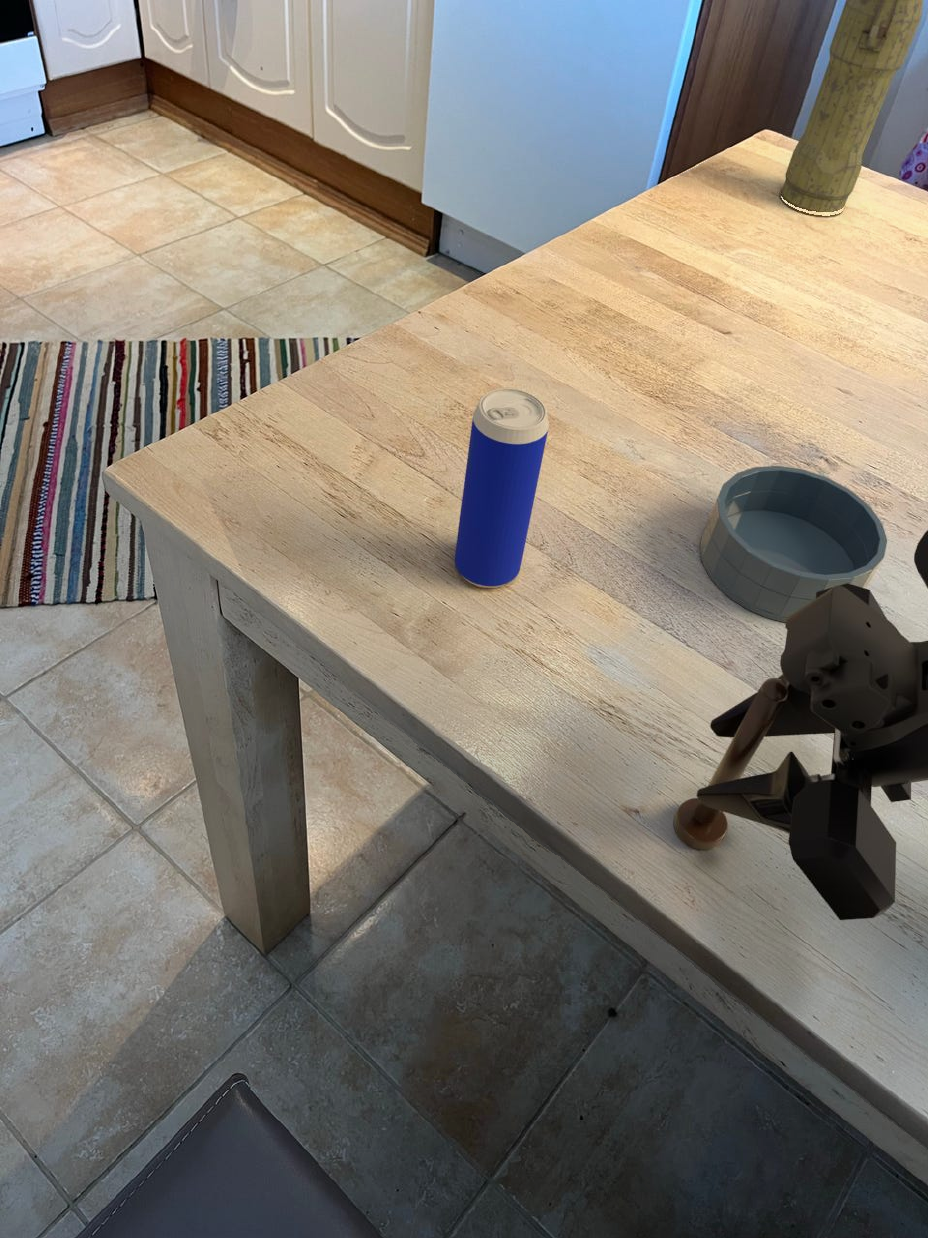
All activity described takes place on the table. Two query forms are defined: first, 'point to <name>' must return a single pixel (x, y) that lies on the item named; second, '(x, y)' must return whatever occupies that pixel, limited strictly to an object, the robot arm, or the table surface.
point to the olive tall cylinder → (849, 101)
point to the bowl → (788, 539)
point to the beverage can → (500, 486)
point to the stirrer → (731, 768)
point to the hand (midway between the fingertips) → (706, 762)
